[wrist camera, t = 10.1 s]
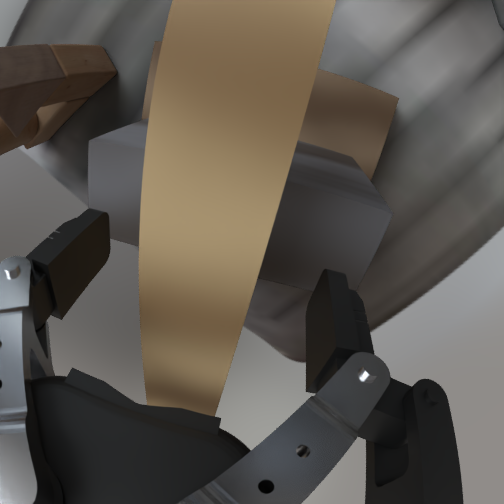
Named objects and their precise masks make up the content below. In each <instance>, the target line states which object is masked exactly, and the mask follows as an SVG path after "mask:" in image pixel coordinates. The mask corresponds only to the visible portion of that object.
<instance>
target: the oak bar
mask: <svg viewBox="0 0 504 504" xmlns="http://www.w3.org/2000/svg"><path fill="white" fill-rule="evenodd" d="M335 2H336V0H173V1H172V4H171V8H170V12H169V16H168V20H167V24H166V28H165V33H164V37H163V41H162V46H161V51H160V56H159V61H158V66H157V71H156V77H155V82H154V88H153V94H152V100H151V107H150V114H149V121H148V129H147V137H146V146H145V156H144V166H143V178H142V191H141V208H140V231H139V304H140V329H141V345H142V358H143V370H144V380H145V389H146V398H147V405H151V406H162V407H175V408H183V409H187V410H191V411H194V412H198V413H202V414H206V415H210V416H214V417H215V413H216V410H217V407H218V404H219V401H220V398H221V394H222V391H223V388H224V385H225V382H226V379H227V376H228V372H229V369H230V366H231V363H232V360H233V356H234V353H235V350H236V347H237V343H238V340H239V337H240V334H241V330H242V327H243V324H244V321H245V317H246V314H247V311H248V307H249V304H250V301H251V298H252V294H253V291H254V288H255V284H256V281H257V278H258V274H259V271H260V268H261V264H262V261H263V258H264V254H265V251H266V247H267V244H268V241H269V237H270V234H271V231H272V227H273V224H274V220H275V217H276V213H277V210H278V207H279V203H280V200H281V196H282V193H283V189H284V186H285V183H286V179H287V176H288V172H289V169H290V165H291V162H292V158H293V155H294V151H295V148H296V144H297V141H298V137H299V134H300V130H301V127H302V123H303V119H304V116H305V112H306V109H307V105H308V102H309V98H310V94H311V91H312V87H313V84H314V80H315V76H316V73H317V69H318V66H319V62H320V58H321V55H322V51H323V47H324V44H325V40H326V36H327V32H328V29H329V25H330V21H331V17H332V14H333V10H334V6H335Z"/></svg>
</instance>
